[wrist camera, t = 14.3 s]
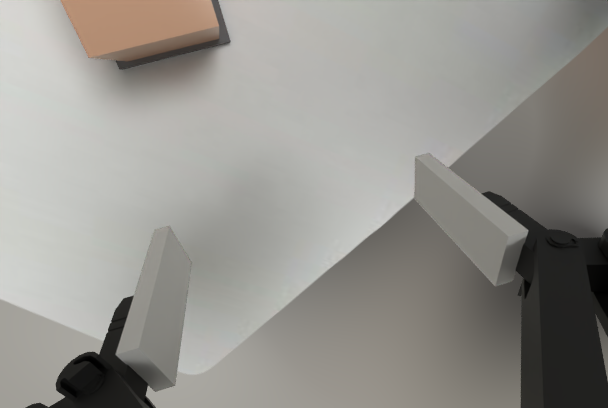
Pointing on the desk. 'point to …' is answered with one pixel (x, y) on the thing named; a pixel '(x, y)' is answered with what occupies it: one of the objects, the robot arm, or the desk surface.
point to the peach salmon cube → (140, 26)
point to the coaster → (222, 40)
